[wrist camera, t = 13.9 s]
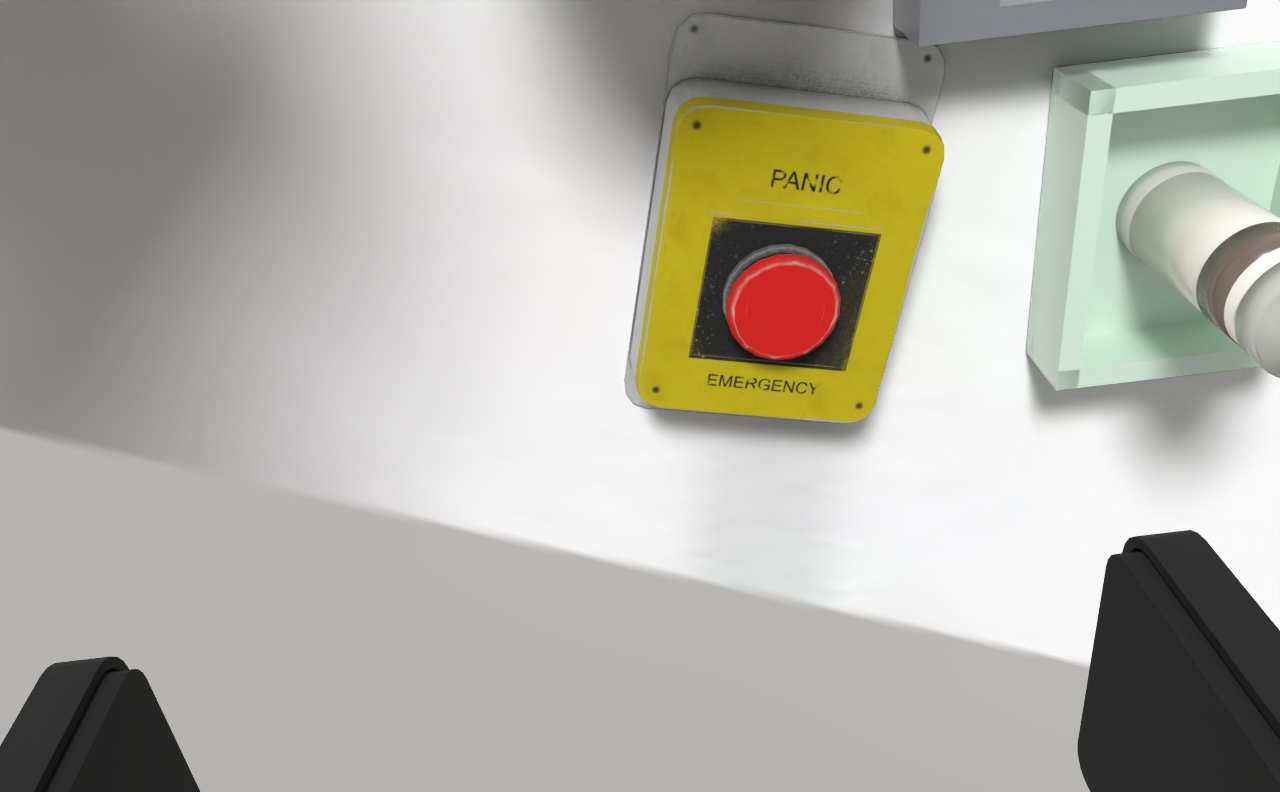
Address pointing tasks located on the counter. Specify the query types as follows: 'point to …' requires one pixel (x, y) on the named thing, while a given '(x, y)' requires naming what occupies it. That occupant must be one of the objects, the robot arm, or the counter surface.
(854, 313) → the emergency button
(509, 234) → the counter surface
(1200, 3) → the block
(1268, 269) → the fuse
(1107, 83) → the tray
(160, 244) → the counter surface
